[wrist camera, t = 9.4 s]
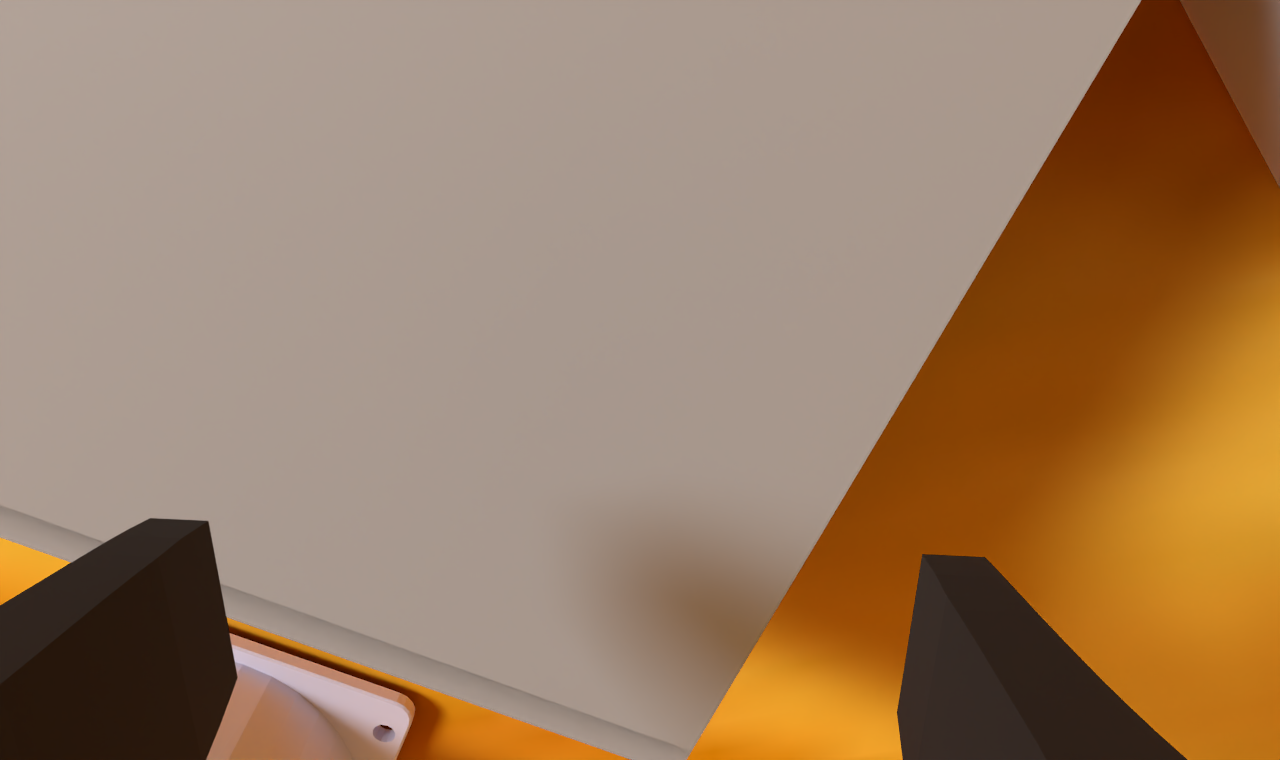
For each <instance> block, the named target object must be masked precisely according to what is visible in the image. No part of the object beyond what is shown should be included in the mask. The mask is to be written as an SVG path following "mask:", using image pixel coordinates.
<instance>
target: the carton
mask: <svg viewBox="0 0 1280 760" xmlns="http://www.w3.org/2000/svg"><path fill="white" fill-rule="evenodd" d="M1140 2H1141V0H0V537H1V538H3V539H6V540H9V541H12V542H15V543H18V544H21V545H23V546H26V547H29V548H32V549H35V550H38V551H40V552H43V553H46V554H49V555H52V556H55V557H57V558H60V559H63V560H66V561H69V562H73V561H75V560H76V559H78V558H80V557H81V556H83V555H85V554H86V553H88V552H90V551H91V550H93V549H95V548H97V547H98V546H100V545H102V544H103V543H105V542H107V541H108V540H110V539H112V538H114V537H115V536H117V535H119V534H121V533H122V532H124V531H126V530H128V529H130V528H132V527H134V526H136V525H138V524H140V523H142V522H143V521H145V520H147V519H149V518H159V519H181V520H202V521H209V526H210V532H211V537H212V542H213V548H214V553H215V558H216V564H217V569H218V575H219V580H220V585H221V591H222V596H223V601H224V607H225V612H226V617H228V618H231V619H233V620H236V621H239V622H242V623H245V624H248V625H250V626H253V627H256V628H259V629H262V630H265V631H267V632H270V633H273V634H276V635H279V636H282V637H285V638H287V639H290V640H293V641H296V642H299V643H302V644H304V645H307V646H310V647H313V648H316V649H319V650H321V651H324V652H327V653H330V654H333V655H336V656H338V657H341V658H344V659H347V660H350V661H353V662H355V663H358V664H361V665H364V666H367V667H370V668H372V669H375V670H378V671H381V672H384V673H387V674H390V675H392V676H395V677H398V678H401V679H404V680H407V681H409V682H412V683H415V684H418V685H421V686H424V687H426V688H429V689H432V690H435V691H438V692H441V693H443V694H446V695H449V696H452V697H455V698H458V699H460V700H463V701H466V702H469V703H472V704H475V705H478V706H480V707H483V708H486V709H489V710H492V711H495V712H497V713H500V714H503V715H506V716H509V717H512V718H514V719H517V720H520V721H523V722H526V723H529V724H531V725H534V726H537V727H540V728H543V729H546V730H548V731H551V732H554V733H557V734H560V735H563V736H566V737H568V738H571V739H574V740H577V741H580V742H583V743H585V744H588V745H591V746H594V747H597V748H600V749H602V750H605V751H608V752H611V753H614V754H617V755H619V756H622V757H625V758H628V759H631V760H686V759H687V758H688V756H689V754H690V753H691V751H692V749H693V748H694V746H695V744H696V743H697V741H698V739H699V738H700V736H701V734H702V733H703V731H704V729H705V728H706V726H707V724H708V723H709V721H710V719H711V718H712V716H713V714H714V713H715V711H716V709H717V708H718V706H719V704H720V703H721V701H722V699H723V698H724V696H725V694H726V693H727V691H728V689H729V688H730V686H731V684H732V683H733V681H734V679H735V678H736V676H737V674H738V673H739V671H740V669H741V668H742V666H743V664H744V663H745V661H746V659H747V658H748V656H749V654H750V653H751V651H752V649H753V648H754V646H755V644H756V643H757V641H758V639H759V638H760V636H761V634H762V633H763V631H764V629H765V628H766V626H767V624H768V623H769V621H770V619H771V618H772V616H773V614H774V613H775V611H776V609H777V608H778V606H779V604H780V603H781V601H782V599H783V598H784V596H785V594H786V593H787V591H788V589H789V588H790V586H791V584H792V583H793V581H794V579H795V578H796V576H797V574H798V573H799V571H800V569H801V568H802V566H803V564H804V563H805V561H806V559H807V557H808V556H809V554H810V552H811V551H812V549H813V547H814V546H815V544H816V542H817V541H818V539H819V537H820V536H821V534H822V532H823V531H824V529H825V527H826V526H827V524H828V522H829V521H830V519H831V517H832V516H833V514H834V512H835V511H836V509H837V507H838V506H839V504H840V502H841V501H842V499H843V497H844V496H845V494H846V492H847V491H848V489H849V487H850V486H851V484H852V482H853V481H854V479H855V477H856V476H857V474H858V472H859V471H860V469H861V467H862V466H863V464H864V462H865V461H866V459H867V457H868V456H869V454H870V452H871V451H872V449H873V447H874V446H875V444H876V442H877V441H878V439H879V437H880V436H881V434H882V432H883V431H884V429H885V427H886V426H887V424H888V422H889V421H890V419H891V417H892V416H893V414H894V412H895V411H896V409H897V407H898V406H899V404H900V402H901V401H902V399H903V397H904V396H905V394H906V392H907V391H908V389H909V387H910V386H911V384H912V382H913V381H914V379H915V377H916V376H917V374H918V372H919V371H920V369H921V367H922V366H923V364H924V362H925V361H926V359H927V357H928V356H929V354H930V352H931V351H932V349H933V347H934V346H935V344H936V342H937V341H938V339H939V337H940V336H941V334H942V332H943V330H944V329H945V327H946V325H947V324H948V322H949V320H950V319H951V317H952V315H953V314H954V312H955V310H956V309H957V307H958V305H959V304H960V302H961V300H962V299H963V297H964V295H965V294H966V292H967V290H968V289H969V287H970V285H971V284H972V282H973V280H974V279H975V277H976V275H977V274H978V272H979V270H980V269H981V267H982V265H983V264H984V262H985V260H986V259H987V257H988V255H989V254H990V252H991V250H992V249H993V247H994V245H995V244H996V242H997V240H998V239H999V237H1000V235H1001V234H1002V232H1003V230H1004V229H1005V227H1006V225H1007V224H1008V222H1009V220H1010V219H1011V217H1012V215H1013V214H1014V212H1015V210H1016V209H1017V207H1018V205H1019V204H1020V202H1021V200H1022V199H1023V197H1024V195H1025V194H1026V192H1027V190H1028V189H1029V187H1030V185H1031V184H1032V182H1033V180H1034V179H1035V177H1036V175H1037V174H1038V172H1039V170H1040V169H1041V167H1042V165H1043V164H1044V162H1045V160H1046V159H1047V157H1048V155H1049V154H1050V152H1051V150H1052V149H1053V147H1054V145H1055V144H1056V142H1057V140H1058V139H1059V137H1060V135H1061V134H1062V132H1063V130H1064V129H1065V127H1066V125H1067V124H1068V122H1069V120H1070V119H1071V117H1072V115H1073V114H1074V112H1075V110H1076V109H1077V107H1078V105H1079V103H1080V102H1081V100H1082V98H1083V97H1084V95H1085V93H1086V92H1087V90H1088V88H1089V87H1090V85H1091V83H1092V82H1093V80H1094V78H1095V77H1096V75H1097V73H1098V72H1099V70H1100V68H1101V67H1102V65H1103V63H1104V62H1105V60H1106V58H1107V57H1108V55H1109V53H1110V52H1111V50H1112V48H1113V47H1114V45H1115V43H1116V42H1117V40H1118V38H1119V37H1120V35H1121V33H1122V32H1123V30H1124V28H1125V27H1126V25H1127V23H1128V22H1129V20H1130V18H1131V17H1132V15H1133V13H1134V12H1135V10H1136V8H1137V7H1138V5H1139V3H1140Z"/></svg>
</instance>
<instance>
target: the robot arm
mask: <svg viewBox="0 0 1280 760" xmlns="http://www.w3.org/2000/svg"><path fill="white" fill-rule="evenodd" d="M414 715H415V707H414V704H413V702H412V701H411V700H410V699H409V698H408V697H407V696H405V695H403V694H401V693H399V692H396V691H393V690H391V689H388V688H385V687H382V686H379V685H376V684H374V683H371V682H368V681H365V680H362V679H359V678H356V677H354V676H351V675H348V674H345V673H342V672H339V671H336V670H334V669H331V668H328V667H325V666H322V665H319V664H316V663H314V662H311V661H308V660H305V659H302V658H299V657H297V656H294V655H291V654H288V653H285V652H282V651H279V650H277V649H274V648H271V647H268V646H265V645H262V644H259V643H257V642H254V641H251V640H248V639H245V638H242V637H239V636H237V635H234V634H231V633H229V628H228V623H227V617H226V612H225V607H224V601H223V596H222V591H221V585H220V580H219V575H218V569H217V564H216V558H215V553H214V548H213V542H212V537H211V532H210V526H209V521H202V520H181V519H159V518H149V519H147V520H145V521H143V522H142V523H140V524H138V525H136V526H134V527H132V528H130V529H128V530H126V531H124V532H122V533H121V534H119V535H117V536H115V537H114V538H112V539H110V540H108V541H107V542H105V543H103V544H102V545H100V546H98V547H97V548H95V549H93V550H91V551H90V552H88V553H86V554H85V555H83V556H81V557H80V558H78V559H76V560H75V561H73V562H71V563H70V564H68V565H67V566H65V567H63V568H62V569H60V570H58V571H57V572H55V573H53V574H52V575H50V576H48V577H47V578H45V579H44V580H42V581H40V582H39V583H37V584H35V585H34V586H32V587H30V588H29V589H27V590H25V591H24V592H22V593H20V594H19V595H17V596H15V597H14V598H12V599H10V600H9V601H7V602H5V603H4V604H2V605H0V760H396V759H397V757H398V754H399V752H400V750H401V747H402V745H403V743H404V740H405V738H406V736H407V733H408V731H409V729H410V726H411V724H412V721H413V718H414ZM897 715H898V724H899V732H900V740H901V748H902V756H903V760H1187V759H1186V758H1185V757H1184V756H1183V755H1181V754H1180V753H1179V752H1178V751H1177V750H1176V749H1175V748H1174V747H1173V746H1171V745H1170V744H1169V743H1168V742H1167V741H1166V740H1165V739H1164V738H1162V737H1161V736H1160V735H1159V734H1158V733H1157V732H1156V731H1155V730H1153V729H1152V728H1151V727H1150V726H1149V725H1148V724H1147V723H1146V722H1145V721H1144V720H1143V719H1142V718H1141V717H1140V716H1139V715H1138V714H1137V713H1135V712H1134V711H1133V710H1132V709H1131V708H1130V707H1129V706H1128V705H1127V704H1126V703H1125V702H1124V701H1123V700H1122V699H1121V698H1120V697H1119V696H1118V695H1117V694H1116V693H1115V692H1114V691H1113V690H1112V689H1111V688H1110V687H1109V686H1107V685H1106V684H1105V683H1104V682H1103V681H1102V680H1101V679H1100V678H1099V677H1098V676H1097V675H1096V674H1095V673H1094V672H1093V670H1092V669H1091V668H1090V667H1089V666H1088V665H1087V664H1086V663H1085V662H1084V661H1083V660H1082V659H1081V658H1080V657H1079V656H1078V655H1077V654H1076V653H1075V652H1074V651H1073V650H1072V649H1071V648H1070V647H1069V646H1068V645H1067V644H1066V643H1065V642H1064V641H1063V640H1062V639H1061V638H1060V637H1059V636H1058V634H1057V633H1056V632H1055V631H1054V630H1053V629H1052V628H1051V627H1050V626H1049V625H1048V624H1047V623H1046V622H1045V621H1044V620H1043V619H1042V618H1041V616H1040V615H1039V614H1038V613H1037V612H1036V611H1035V610H1034V609H1033V608H1032V607H1031V606H1030V605H1029V604H1028V603H1027V601H1026V600H1025V599H1024V598H1023V597H1022V596H1021V595H1020V594H1019V593H1018V592H1017V591H1016V590H1015V589H1014V587H1013V586H1012V585H1011V584H1010V583H1009V582H1008V581H1007V580H1006V579H1005V578H1004V577H1003V576H1002V575H1001V574H1000V572H999V571H998V570H997V569H996V568H995V567H994V566H993V565H992V564H991V563H990V562H989V561H988V560H987V559H986V558H985V557H967V556H946V555H925V554H922V560H921V566H920V573H919V579H918V585H917V591H916V598H915V604H914V610H913V617H912V623H911V629H910V635H909V642H908V648H907V654H906V661H905V667H904V673H903V679H902V686H901V692H900V698H899V705H898V711H897ZM380 725H386V726H389V727H390V728H392V730H389V729H384V728H383V727H381V726H380Z"/></svg>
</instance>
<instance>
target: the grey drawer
mask: <svg viewBox="0 0 1280 760" xmlns="http://www.w3.org/2000/svg"><path fill="white" fill-rule="evenodd" d="M1180 2H1181V4H1182V6H1183V8H1184V10H1185V12H1186V13H1187V15H1188V17H1189V19H1190V21H1191V23H1192V25H1193V27H1194V28H1195V30H1196V32H1197V34H1198V36H1199V38H1200V40H1201V42H1202V43H1203V45H1204V47H1205V49H1206V51H1207V53H1208V55H1209V57H1210V58H1211V60H1212V62H1213V64H1214V66H1215V68H1216V70H1217V72H1218V73H1219V75H1220V77H1221V79H1222V81H1223V83H1224V85H1225V87H1226V88H1227V90H1228V92H1229V94H1230V96H1231V98H1232V100H1233V102H1234V103H1235V105H1236V107H1237V109H1238V111H1239V113H1240V115H1241V117H1242V119H1243V120H1244V122H1245V124H1246V126H1247V128H1248V130H1249V132H1250V134H1251V135H1252V137H1253V139H1254V141H1255V143H1256V145H1257V147H1258V149H1259V150H1260V152H1261V154H1262V156H1263V158H1264V160H1265V162H1266V164H1267V165H1268V167H1269V169H1270V171H1271V173H1272V175H1273V177H1274V179H1275V180H1276V182H1277V184H1278V186H1279V188H1280V0H1180Z"/></svg>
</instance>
